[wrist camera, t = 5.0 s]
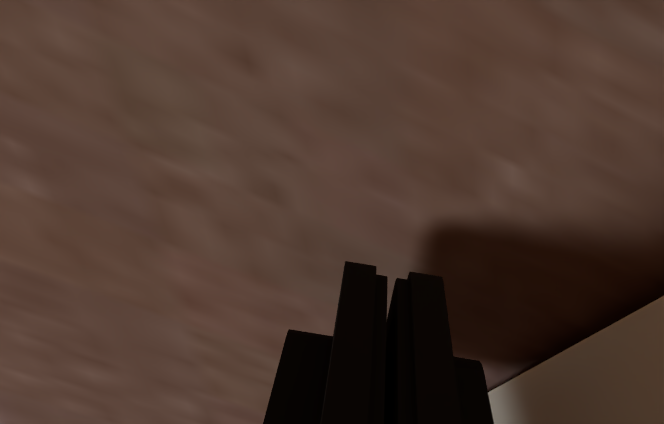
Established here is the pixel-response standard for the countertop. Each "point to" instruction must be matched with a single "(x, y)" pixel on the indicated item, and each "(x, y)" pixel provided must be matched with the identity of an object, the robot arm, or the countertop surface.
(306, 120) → the countertop surface
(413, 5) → the countertop surface
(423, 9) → the countertop surface
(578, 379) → the gate
